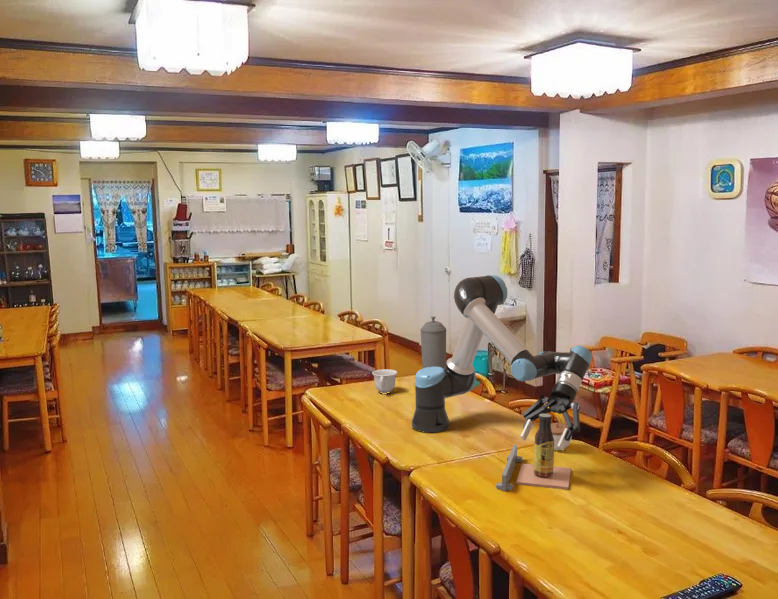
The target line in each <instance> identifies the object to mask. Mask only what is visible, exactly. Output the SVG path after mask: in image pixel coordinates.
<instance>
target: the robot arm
mask: <svg viewBox="0 0 778 599" xmlns="http://www.w3.org/2000/svg"><path fill="white" fill-rule="evenodd" d="M507 299H508V288H507V285H506V282H505V281H504V280H503V279H502V277H500V276H498V275H490V274H486V275H483V276H473V277H466V278H464V279H462V280H460V281H459V282H458V283H457V285H456V286H455V288H454V292H453V300H454V303H455V306H456V308H457V309H458V310H459V312H460V314H462V316H464V322H463V325H462V327H461V331H460V333H459V337H458V339H457V341H456V344H455V348H454V351H453V354H452V357H450V358H448V359H446V365H445V368H444V369H443V368H441V367H427V368H423V369H422V368H421V369H419V370H417V372H416V374H415V381H414V387H415V388H414V390H415V410H414V412H413V417H412V419H411V428H412V427H413V428H414V429H416V430H420V431H424V432H423V433H428V432H433V433H441V432H445V431H447V430H449V429H450V418H449V416H448V413H447V410H446V405H445V404H446V399H447V398H448V399H449V398H452V397H455V396H460V395H461V396H462V395H464V394H466V393H468V392H471V391H472V390H473V388H474V387H475V385H476V382H477V377H476V371H475V366H474V365H473V364H474V360H475V358H476V355H477V352H478V349H479V346H480V344H481V341H482V338H483V336H485V337H486V338H487V340H489V341H490V343H491V344H492V345H493V346H494V347H495V348H496V350H498V352H499V353H500V354H501V355H502V356H503V357H504V358H505V360H506V361H508V363H509V364H510V366H511V368H510V372H511V373H512V376H513V378H514V379H515V380H516V381H519V382H527V381H533V380H535V379H537V378H538V379H539V378H542V377H543V378H544V377H547V376H551V375H556V374H558V377H557V380H556V383H555V384H554V386H553V388H552V391H551V392H550V395H549V396H548V397H547V396H545V395H544V394H541V395H540V396H539V398H538V399H537V400H536V401H535V402H534V403H533V404H532V405H530V406H529V408H527V409H526V410H525V411H524V412H523V413H522V417H523V418H524V419H525V421H524V423H523V425H522V432H521V434H520V438H521V439H522V440H523V441H526V440H527V438H528V436H529V435H530V432H531V430H532V428H533V426H534V423H533V422H535V421H536V420H539V414H549V413H553V414H554V413H555V414H559V415H561V414H562V416H563V418H564V420H565V421H564V422H565V424H566V425H567V426H568V429H567V428H565V430H564V432H563V434H562V436H561V439H560V441H559V443H558V445H557V446H558V448H559V449H560V450H562V451H564V450H563V448H564V446H565V444H566V442H567V441H569V440H570V438H571V436H572V437H573V433H580V432H581V423H580V409H581V406H580V404H579V403H578V401H575V402H574V400H575V398H576V396H577V393H579V392H578V391H579V390H580V387H581V384H582V383H583V381H584V378H585V376H586V374H587V372H588V370H589V368H590V366H591V362H592V360H593V353H592V352H591V351H590V350H589V348H587V347H585V346H582V345H574V346H572V348H571V349H570V350H569V352H567V351H566V352H563V351H560V352H559V351H550V350H547V351H540V352H538V353H537V354H536V355H533V354H532V353H531V351H529V350H528V349H527V348H526V347H525V345H524V344H523V343H522V342H521V341H520V340H519V339H518V337H516V336H515V335H514V334H513V333H512V331H511V330H510V329H509V328H508V327H507V326H506V325H505V324H504V322H502V321H501V319H500V318H499V317H498V316H497V315H496V311H497V309H498V306H501V305H502V304H504V303H505V302H506V300H507ZM569 409H572V420H573V423H572V420H571V417H570V414H569V413H568V412H569V411H568V410H569ZM413 428H412V429H413ZM414 429H413V430H414ZM416 430H415V431H416ZM420 431H419V432H420ZM440 431H441V432H440ZM571 439H572V438H571ZM562 451H561V452H562Z"/></svg>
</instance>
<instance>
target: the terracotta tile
mask: <svg viewBox="0 0 778 599" xmlns="http://www.w3.org/2000/svg"><path fill="white" fill-rule="evenodd" d="M518 472H519V473H518V475H517V478H516V481H515V485H518V486H519V485H520V486H528V487H529V486H530V487H531V486H532V487H538V488H539V487H540V488H548V489H558V490H569V488H570V479H571V472H572V468H571V467H564V466H563V467H562V466H554V465H553V474H552V475H551V476H550V477H539V476H537V475H535V474H534V463H531V464H530V463H523V462H522V463H521V466H520V469H519V471H518Z"/></svg>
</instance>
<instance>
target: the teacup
mask: <svg viewBox="0 0 778 599" xmlns="http://www.w3.org/2000/svg"><path fill="white" fill-rule="evenodd" d="M371 374H372V375H373V380H374V385H375V389H376V390H377V391H380V392H382V393H387V392H391V393H392V390H394V389H395V386H396V377H397V374H398V371H397V370H395V369H391V368H390V369H387V368H386V369H385V368H382V369H376V370H374V371H372V373H371Z"/></svg>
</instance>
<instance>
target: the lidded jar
mask: <svg viewBox="0 0 778 599" xmlns="http://www.w3.org/2000/svg"><path fill="white" fill-rule="evenodd" d="M565 428H567V429H568V426H567V424H566V423H560V422H551V431H552V434H553V438H554V450H560V449H559V448H558V446H557V445H558V443H559V441H560V439H561V436H562V434H563V432H564V430H565ZM572 438H573V435H572V436H571V438H570V440H569V441H567V442H566V444H565V446H564V448H563V449H565V450H566V449H567V448H568V447H569V446H570V444H571V441H572Z"/></svg>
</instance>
